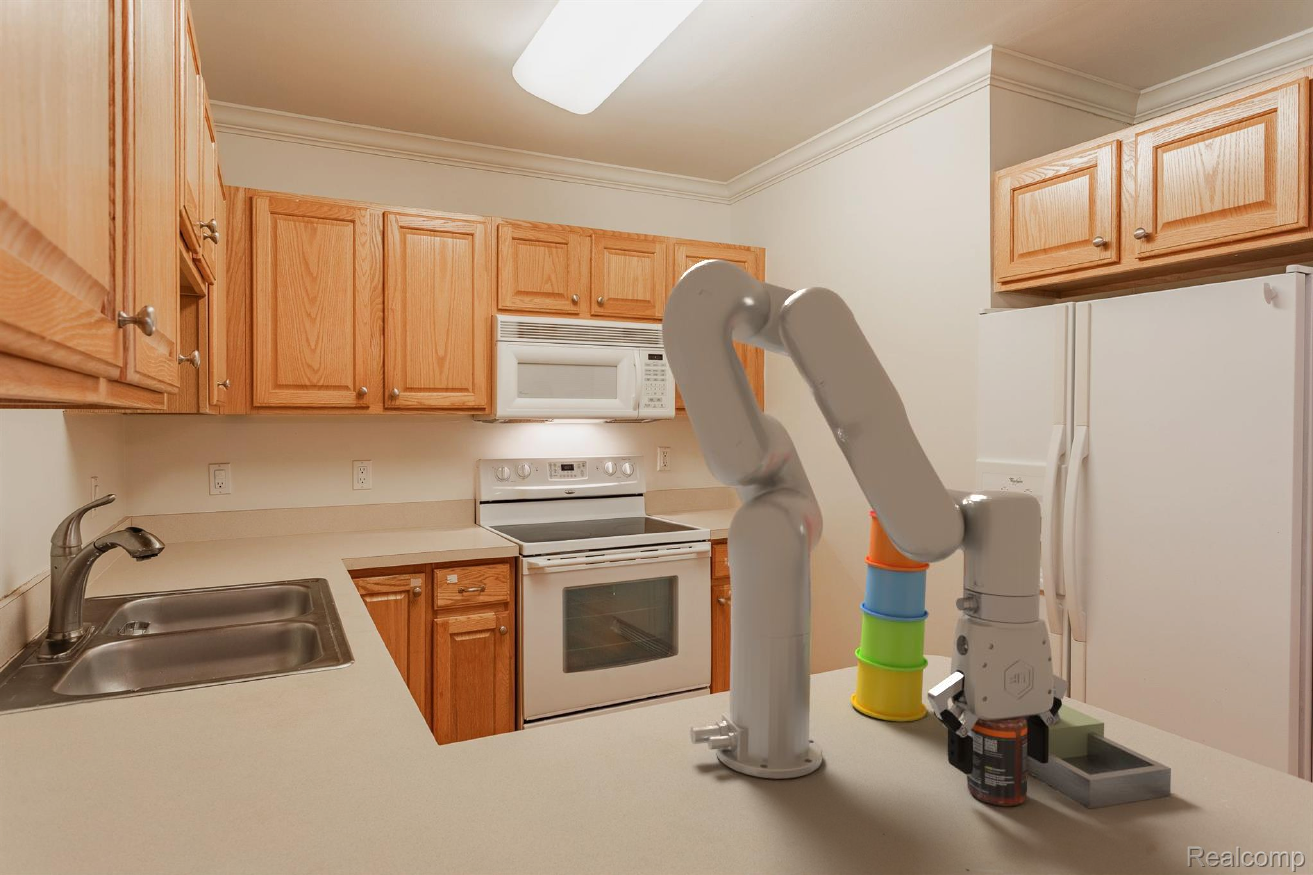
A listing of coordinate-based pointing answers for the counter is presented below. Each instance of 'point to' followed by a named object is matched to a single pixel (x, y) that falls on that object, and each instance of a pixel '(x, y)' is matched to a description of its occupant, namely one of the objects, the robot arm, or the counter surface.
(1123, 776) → the grey square tray
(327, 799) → the counter surface
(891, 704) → the stacking cups
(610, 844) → the counter surface
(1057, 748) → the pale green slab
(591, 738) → the counter surface
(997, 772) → the supplement bottle
